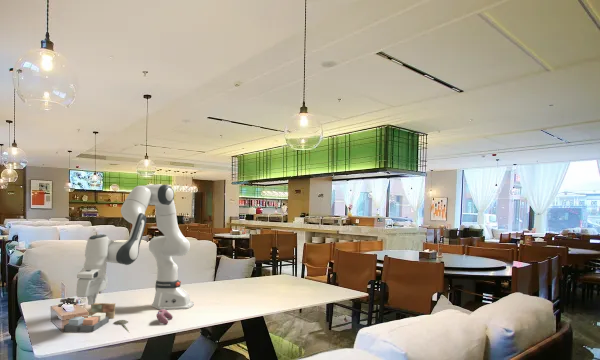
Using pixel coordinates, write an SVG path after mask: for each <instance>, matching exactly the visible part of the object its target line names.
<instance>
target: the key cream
mask: <svg viewBox="0 0 600 360" xmlns="http://www.w3.org/2000/svg"><path fill="white" fill-rule="evenodd" d="M91 317H98V321H101V320H103V319H104V318H105V317H106V313H96V314H94V315H92V316H91Z"/></svg>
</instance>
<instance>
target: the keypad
mask: <svg viewBox="0 0 600 360" xmlns="http://www.w3.org/2000/svg"><path fill="white" fill-rule="evenodd" d="M109 320H110V318H109V317H105V318H104V319H103V320H101V321H98V323H96V324H94V325H83V323H81V324H79V325H68V323H66V324H64V325H63V333H64V332H65V333H93V332H95V331H97V330H99V329H100V328H101V327H104V326H105V325H106V324H108V323H109V322H110V321H109Z"/></svg>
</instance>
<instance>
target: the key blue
mask: <svg viewBox="0 0 600 360" xmlns="http://www.w3.org/2000/svg"><path fill="white" fill-rule="evenodd" d="M83 320H84V317H82V316H74V317H71V318H68V323H67V324H68V325H79V324H81V323H83Z"/></svg>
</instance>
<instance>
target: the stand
mask: <svg viewBox="0 0 600 360" xmlns="http://www.w3.org/2000/svg"><path fill="white" fill-rule="evenodd" d="M96 313H106V317H109V319H115V315H116V314H115V313H116V303H114V302H112V303H111V302H109V303H106V302H105V303H103V302H102V303H101V302H99V303H98V302H95V303H94V304H92V305H90V313H89V314H90V315H89V316H92V315H94V314H96Z"/></svg>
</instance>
